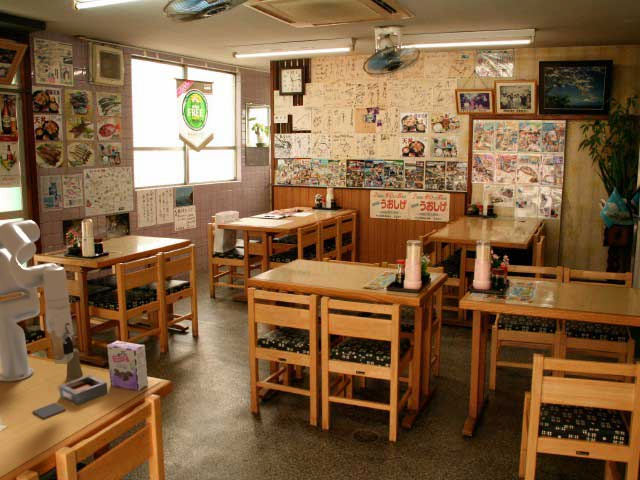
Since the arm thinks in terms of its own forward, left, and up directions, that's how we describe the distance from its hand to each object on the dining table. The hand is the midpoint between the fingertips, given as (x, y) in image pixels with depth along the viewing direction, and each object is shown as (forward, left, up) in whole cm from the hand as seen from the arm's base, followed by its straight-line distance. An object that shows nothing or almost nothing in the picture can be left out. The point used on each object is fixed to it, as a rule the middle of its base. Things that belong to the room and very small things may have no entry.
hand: (62, 350), depth 212 cm
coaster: (+1, -8, -20) cm, 21 cm away
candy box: (+5, +21, -20) cm, 30 cm away
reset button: (-1, +6, -19) cm, 20 cm away
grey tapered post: (-21, +13, -20) cm, 32 cm away
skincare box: (0, 0, -4) cm, 4 cm away
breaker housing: (-1, +6, -20) cm, 21 cm away
